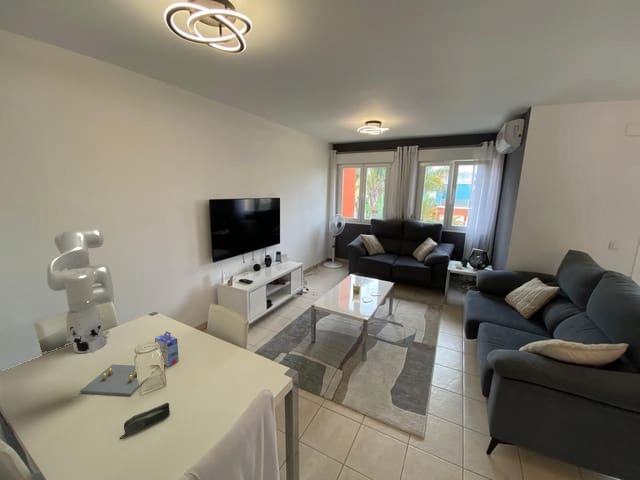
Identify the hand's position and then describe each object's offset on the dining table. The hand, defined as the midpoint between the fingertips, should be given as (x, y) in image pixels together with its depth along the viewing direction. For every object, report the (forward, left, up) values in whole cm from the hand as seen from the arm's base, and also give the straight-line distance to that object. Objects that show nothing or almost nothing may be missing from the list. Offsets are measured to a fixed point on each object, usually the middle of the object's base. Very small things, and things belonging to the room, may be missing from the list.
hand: (88, 346), depth 104 cm
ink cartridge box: (-19, +19, -20) cm, 33 cm away
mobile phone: (+15, +32, -20) cm, 41 cm away
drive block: (0, 0, -1) cm, 1 cm away
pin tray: (-5, +7, -19) cm, 21 cm away
